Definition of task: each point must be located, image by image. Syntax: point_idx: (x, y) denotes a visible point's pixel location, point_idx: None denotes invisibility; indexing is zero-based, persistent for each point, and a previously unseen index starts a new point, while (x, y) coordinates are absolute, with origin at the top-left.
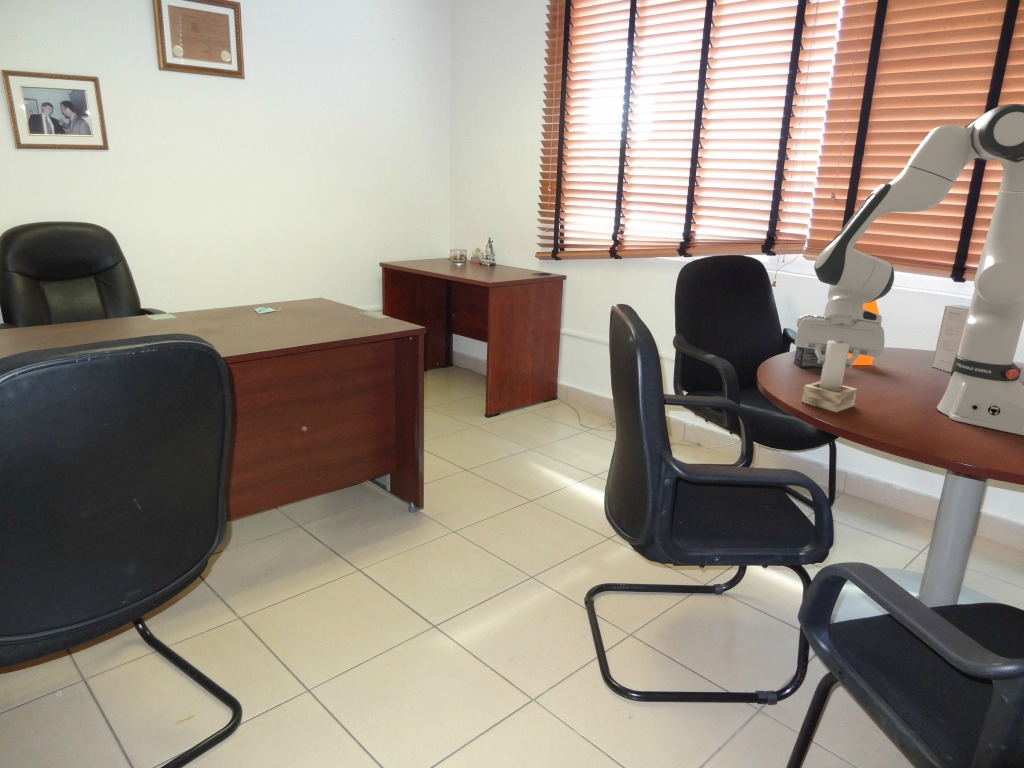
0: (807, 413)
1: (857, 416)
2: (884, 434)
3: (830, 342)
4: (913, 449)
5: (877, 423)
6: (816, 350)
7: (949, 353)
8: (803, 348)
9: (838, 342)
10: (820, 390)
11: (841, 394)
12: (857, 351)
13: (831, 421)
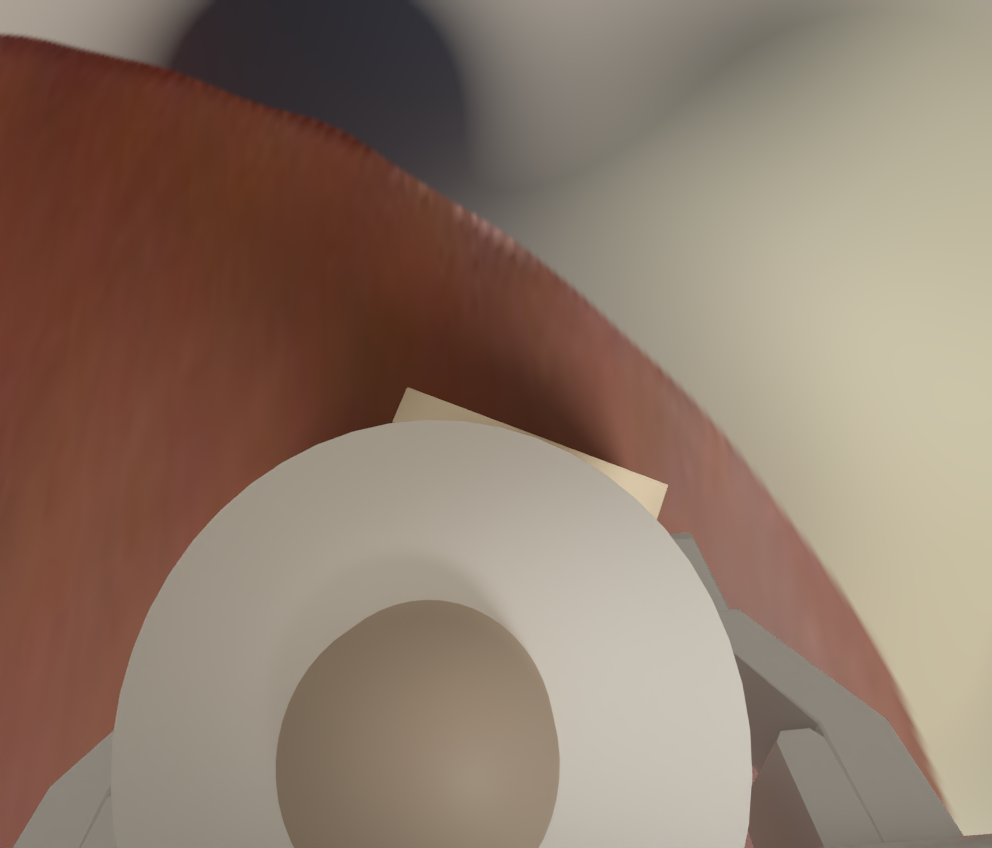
0: (563, 294)
1: (319, 412)
2: (201, 199)
3: (637, 533)
4: (102, 80)
5: (222, 352)
6: (814, 677)
7: None
8: None
9: (426, 609)
10: (541, 438)
11: (396, 414)
12: (63, 832)
13: (437, 238)
